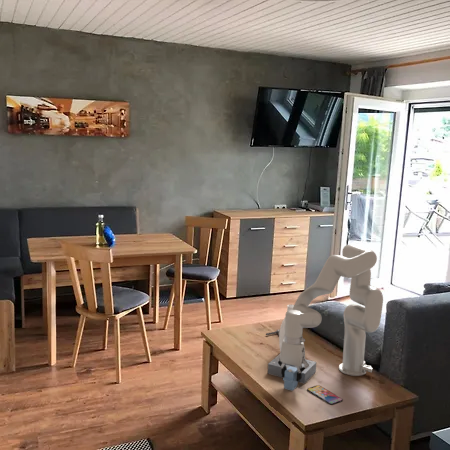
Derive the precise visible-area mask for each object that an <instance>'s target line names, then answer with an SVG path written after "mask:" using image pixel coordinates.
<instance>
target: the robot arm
mask: <svg viewBox="0 0 450 450" xmlns="http://www.w3.org/2000/svg"><path fill="white" fill-rule="evenodd" d="M341 253H342V255H339V254H332V255H329V256H328V258H327V260H326V261H325V263H324V264H323V267H322V268H321V270H320V273H319V274H318V277H316V280H315V282H314V283H312V284H311V285H310V286H308V287H307V288H305V290H303V291H302V292H301V293H299V296H298V297H297V299H296V300H295V303H294V304H293V305H294V307H293V309H292V310H289V311H287V310H286V312H285V316H284V318H285V336H284V340H283V342H282V347H281V353H279V354H278V355H277V356H275V357H274V358H275V359H276V360H277V362H278V364H279V365H280V366H281V368H282V369H281V374H282V377H285V370H287V367H286V364H289V365H293V366H296V367H297V370H298V372H297V379H296V381H299V380H300V379H301V378H302V371H304V370H305V369H306V368H308V367H309V364H308V363H307V361H306V360H307V359H306V349H305V342H306V339H305V338H303V331H304V330H303V329H304V328H307V329H308V328H310V329H312V328H313V329H314V328H316V327H318V326H320V324H321V323H322V315H321V313H320V312H319V311H317V310H315V309H313V308H312V307H310V304H311V303H312V301H314V299H316V298H317V297H320V296H325V295H330V294H332V293H333V292H334V290H335V288H336V286H337V284H338V282H339V280H340V278H341V277H343V278H345V279H350V287H349V299H350V300H351V301H353V302H354V303H355V304H354V303H351V304H349V305H347V306H345V308H344V311H343V322H344V324H343V325H344V337H343V351H342V363H340V364H339V365H338V370H339V371H340V372H341V373H342V374H345V375H348V376H351V377H359V376H364V375H365V374H367V372H369V373H373V370H374V369H373V367H372V365H367V364H366V361H365V351H366V337H367V336H366V332H367V333H374V332H376V331H377V330H378V329H379V326H380V324H381V318H382V313H383V307H384V306H383V305H384V304H383V303H384V296H383V295H384V294H383V293H382V291H381V290H380V289H379V288H377V287H375V286H372V285H371V277H372V272H371V271H372V270H371V269H373V268H374V267H375V265H376V264H377V259H378V257H377V254H376V252H375V251H373V250H371V249H369V248H365V247H362V246H358V245H355V244H346V245H345V246H344V247H343V248H342V252H341ZM361 305H362V306H361ZM305 359H306V360H305ZM302 364H304V365H305V366H304V367H302ZM282 377H281V378H282Z"/></svg>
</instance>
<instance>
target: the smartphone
mask: <svg viewBox="0 0 450 450" xmlns="http://www.w3.org/2000/svg"><path fill="white" fill-rule="evenodd" d="M306 391H307V392H309V393H310V394H312V395H314V396H315V397H316V398H318V399H320V400H321V401H323V402H325V403H326V404H328V405H331V406H333V405H337V404H339V403H342V402H343V398H341V397H340V396H338V395H337V394H335V393H333V392H331V391H330V390H328V389H326V388H325V387H323V386H322V385H320V384H318V385H314V386H310V387H307V389H306Z"/></svg>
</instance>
